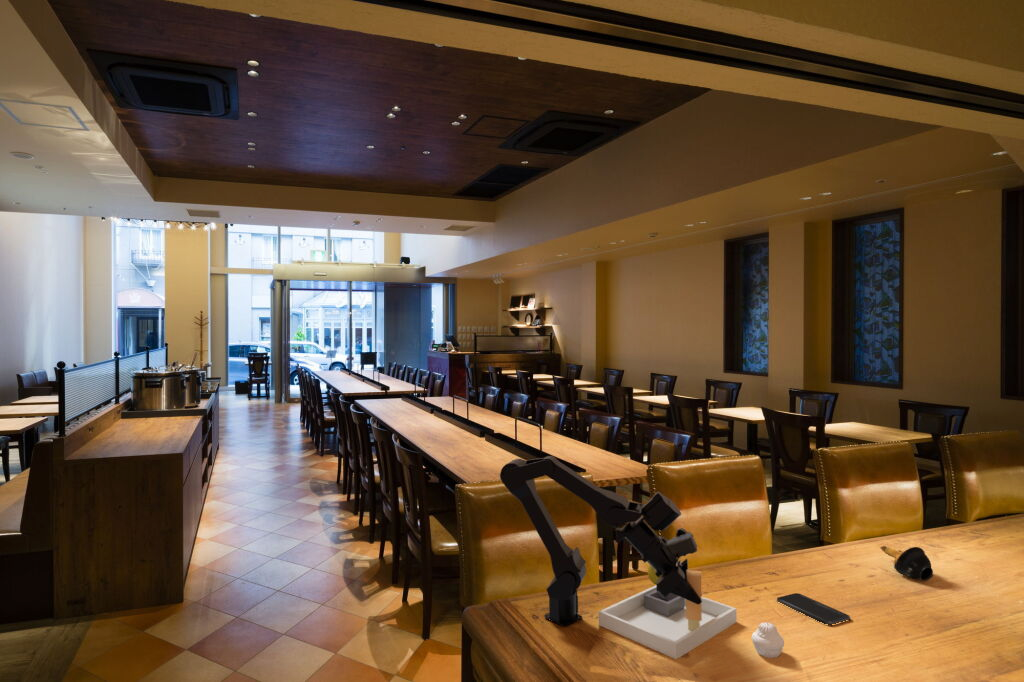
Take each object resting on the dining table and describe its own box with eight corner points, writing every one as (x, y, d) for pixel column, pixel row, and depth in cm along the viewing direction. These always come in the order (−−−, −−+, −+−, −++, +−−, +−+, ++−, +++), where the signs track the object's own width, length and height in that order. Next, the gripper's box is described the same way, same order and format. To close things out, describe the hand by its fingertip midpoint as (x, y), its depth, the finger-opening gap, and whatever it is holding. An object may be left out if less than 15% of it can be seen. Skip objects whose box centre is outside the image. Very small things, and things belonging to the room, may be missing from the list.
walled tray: (676, 664, 120) (675, 644, 120) (598, 629, 135) (598, 611, 135) (736, 626, 136) (736, 608, 136) (661, 598, 151) (661, 582, 151)
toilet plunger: (911, 569, 157) (860, 527, 173) (915, 599, 161) (865, 556, 178) (942, 555, 157) (888, 515, 174) (945, 585, 161) (892, 543, 178)
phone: (828, 623, 135) (774, 598, 149) (828, 628, 135) (774, 602, 149) (852, 616, 138) (797, 592, 152) (852, 621, 138) (797, 596, 152)
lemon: (670, 591, 155) (669, 560, 155) (648, 589, 156) (647, 559, 156) (668, 583, 161) (668, 553, 161) (647, 581, 162) (647, 551, 162)
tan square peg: (686, 630, 130) (685, 575, 130) (686, 624, 133) (686, 569, 134) (701, 632, 129) (701, 576, 130) (701, 625, 132) (701, 571, 133)
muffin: (775, 649, 125) (775, 615, 125) (790, 665, 119) (790, 629, 119) (746, 650, 125) (746, 616, 125) (759, 665, 119) (759, 630, 119)
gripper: (672, 533, 124) (729, 593, 120) (676, 509, 142) (726, 561, 138) (633, 567, 126) (689, 627, 123) (642, 540, 144) (690, 591, 141)
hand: (700, 599), depth 131 cm, fingers closed on tan square peg, 3 cm apart
